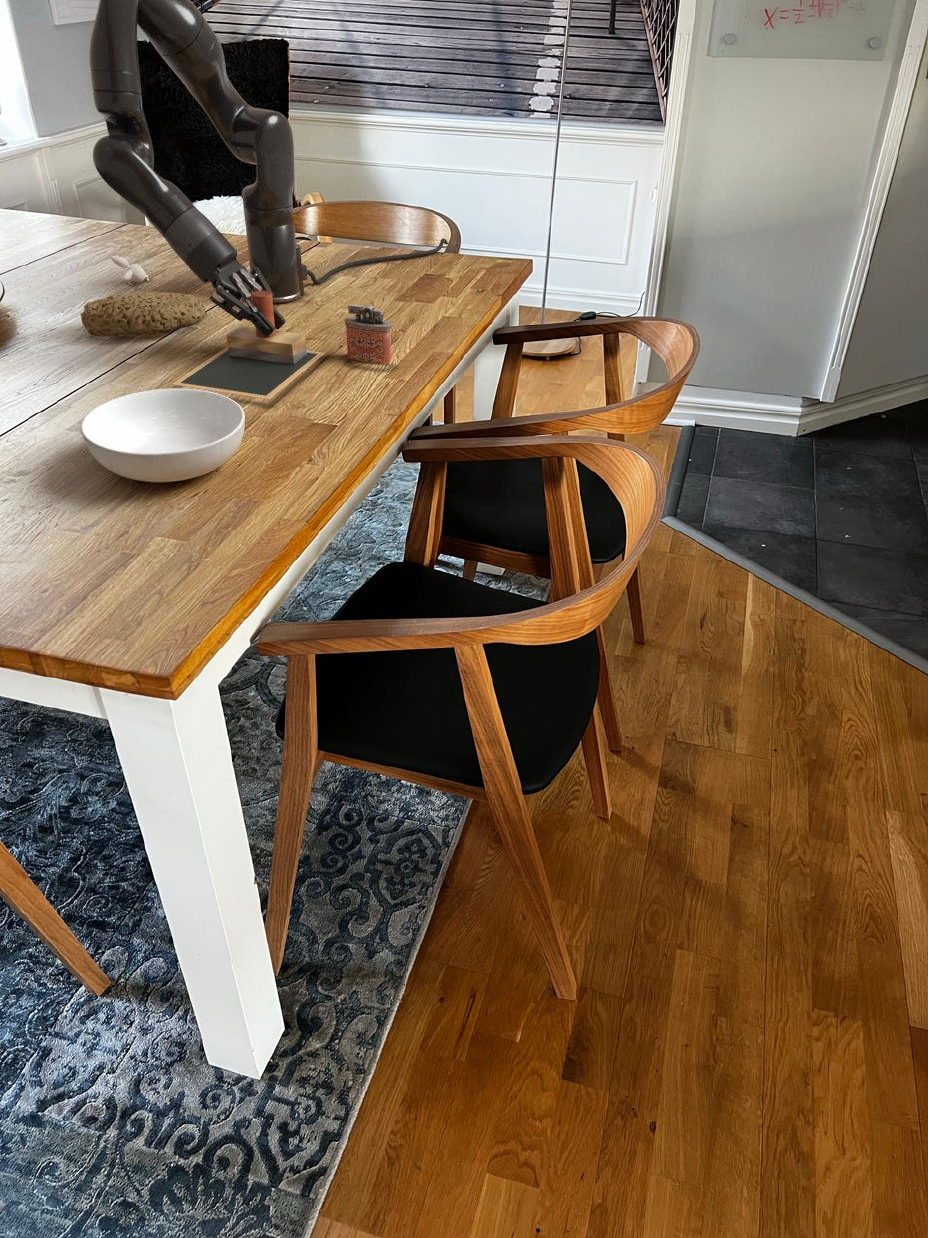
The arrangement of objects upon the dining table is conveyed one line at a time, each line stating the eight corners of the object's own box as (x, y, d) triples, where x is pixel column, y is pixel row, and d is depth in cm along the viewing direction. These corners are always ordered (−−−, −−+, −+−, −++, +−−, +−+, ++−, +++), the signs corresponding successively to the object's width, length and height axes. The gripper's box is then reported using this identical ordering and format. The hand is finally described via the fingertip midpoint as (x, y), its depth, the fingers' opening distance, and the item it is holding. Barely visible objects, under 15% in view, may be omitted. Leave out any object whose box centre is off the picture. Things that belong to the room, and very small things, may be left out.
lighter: (395, 365, 161) (394, 305, 155) (387, 372, 158) (386, 312, 152) (351, 358, 163) (348, 299, 157) (343, 365, 160) (340, 306, 154)
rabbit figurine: (158, 282, 195) (127, 272, 188) (147, 295, 197) (116, 286, 190) (145, 260, 196) (114, 250, 189) (134, 274, 198) (103, 264, 191)
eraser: (229, 355, 159) (221, 293, 153) (243, 345, 163) (236, 284, 157) (294, 364, 157) (288, 302, 151) (307, 354, 160) (302, 293, 154)
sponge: (87, 351, 166) (195, 329, 164) (71, 305, 163) (181, 282, 161) (114, 339, 178) (215, 318, 176) (100, 295, 175) (203, 275, 173)
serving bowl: (170, 518, 118) (161, 468, 114) (58, 474, 127) (45, 426, 123) (281, 455, 132) (276, 409, 128) (173, 420, 141) (166, 375, 137)
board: (236, 346, 166) (236, 340, 165) (326, 359, 162) (325, 352, 161) (172, 391, 150) (170, 383, 149) (269, 406, 146) (268, 398, 145)
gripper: (189, 240, 145) (270, 329, 149) (234, 219, 156) (308, 302, 160) (165, 272, 149) (243, 357, 153) (210, 249, 160) (282, 329, 164)
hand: (276, 329), depth 157 cm, fingers closed on eraser, 3 cm apart
